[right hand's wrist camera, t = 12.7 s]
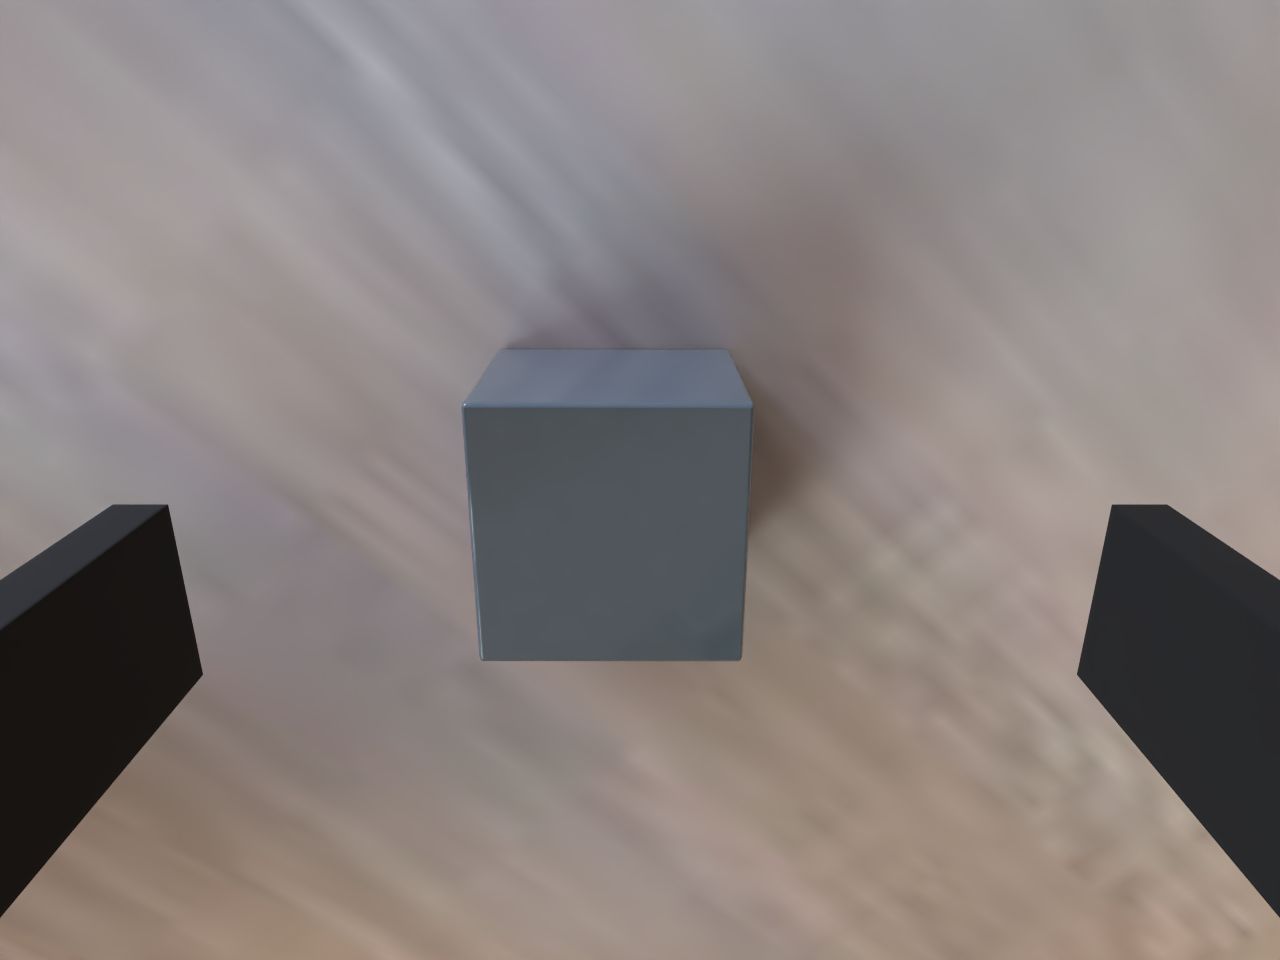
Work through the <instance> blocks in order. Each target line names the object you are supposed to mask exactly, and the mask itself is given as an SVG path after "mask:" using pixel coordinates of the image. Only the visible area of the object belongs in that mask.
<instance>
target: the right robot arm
mask: <svg viewBox="0 0 1280 960" xmlns="http://www.w3.org/2000/svg"><path fill="white" fill-rule="evenodd" d="M202 675H203V673H202V668H201V663H200V658H199V653H198V648H197V643H196V638H195V634H194V629H193V624H192V619H191V614H190V609H189V604H188V600H187V595H186V590H185V585H184V580H183V575H182V570H181V566H180V561H179V556H178V551H177V546H176V541H175V536H174V532H173V527H172V522H171V517H170V512H169V507H168V505H112V506H110V507H109V508H107V509H106V510H104V511H103V512H101V513H100V514H98V515H97V516H95V517H94V518H92V519H91V520H89V521H88V522H86V523H85V524H83V525H82V526H80V527H79V528H77V529H76V530H74V531H73V532H71V533H70V534H68V535H67V536H65V537H64V538H62V539H61V540H59V541H58V542H57V543H55V544H54V545H52V546H51V547H49V548H48V549H46V550H45V551H43V552H42V553H40V554H39V555H37V556H36V557H34V558H33V559H31V560H30V561H28V562H27V563H25V564H24V565H22V566H21V567H19V568H18V569H16V570H15V571H13V572H12V573H10V574H9V575H7V576H6V577H4V578H3V579H1V580H0V917H1V916H2V915H3V914H4V913H5V911H6V910H7V909H8V908H9V907H10V905H11V904H12V903H13V902H14V901H15V899H16V898H17V897H18V896H19V895H20V893H21V892H22V891H23V890H24V889H25V887H26V886H27V885H28V884H29V883H30V881H31V880H32V879H33V878H34V877H35V875H36V874H37V873H38V872H39V871H40V869H41V868H42V867H43V866H44V865H45V863H46V862H47V861H48V860H49V859H50V857H51V856H52V855H53V854H54V853H55V851H56V850H57V849H58V848H59V847H60V845H61V844H62V843H63V842H64V841H65V839H66V838H67V837H68V836H69V835H70V833H71V832H72V831H73V830H74V829H75V827H76V826H77V825H78V824H79V823H80V821H81V820H82V819H83V818H84V817H85V815H86V814H87V813H88V812H89V811H90V809H91V808H92V807H93V806H94V805H95V803H96V802H97V801H98V800H99V799H100V797H101V796H102V795H103V794H104V793H105V791H106V790H107V789H108V788H109V787H110V785H111V784H112V783H113V782H114V781H115V779H116V778H117V777H118V776H119V775H120V773H121V772H122V771H123V770H124V769H125V767H126V766H127V765H128V764H129V763H130V761H131V760H132V759H133V758H134V757H135V755H136V754H137V753H138V752H139V751H140V749H141V748H142V747H143V746H144V745H145V743H146V742H147V741H148V740H149V739H150V738H151V736H152V735H153V734H154V733H155V732H156V730H157V729H158V728H159V727H160V726H161V724H162V723H163V722H164V721H165V720H166V718H167V717H168V716H169V715H170V714H171V712H172V711H173V710H174V709H175V708H176V706H177V705H178V704H179V703H180V702H181V700H182V699H183V698H184V697H185V696H186V694H187V693H188V692H189V691H190V690H191V688H192V687H193V686H194V685H195V684H196V682H197V681H198V680H199V679H200V678H201V676H202ZM1077 675H1078V676H1079V678H1080V679H1081V680H1082V681H1083V682H1084V684H1085V685H1086V686H1087V687H1088V688H1089V690H1090V691H1091V692H1092V693H1093V694H1094V696H1095V697H1096V698H1097V699H1098V700H1099V702H1100V703H1101V704H1102V705H1103V706H1104V708H1105V709H1106V710H1107V711H1108V712H1109V714H1110V715H1111V716H1112V717H1113V718H1114V720H1115V721H1116V722H1117V723H1118V724H1119V726H1120V727H1121V728H1122V729H1123V730H1124V732H1125V733H1126V734H1127V735H1128V736H1129V738H1130V739H1131V740H1132V741H1133V742H1134V744H1135V745H1136V746H1137V747H1138V748H1139V749H1140V751H1141V752H1142V753H1143V754H1144V755H1145V757H1146V758H1147V759H1148V760H1149V761H1150V763H1151V764H1152V765H1153V766H1154V767H1155V769H1156V770H1157V771H1158V772H1159V773H1160V775H1161V776H1162V777H1163V778H1164V779H1165V781H1166V782H1167V783H1168V784H1169V785H1170V787H1171V788H1172V789H1173V790H1174V791H1175V793H1176V794H1177V795H1178V796H1179V797H1180V799H1181V800H1182V801H1183V802H1184V803H1185V805H1186V806H1187V807H1188V808H1189V809H1190V811H1191V812H1192V813H1193V814H1194V815H1195V817H1196V818H1197V819H1198V820H1199V821H1200V823H1201V824H1202V825H1203V826H1204V827H1205V829H1206V830H1207V831H1208V832H1209V833H1210V835H1211V836H1212V837H1213V838H1214V839H1215V841H1216V842H1217V843H1218V844H1219V845H1220V847H1221V848H1222V849H1223V850H1224V851H1225V853H1226V854H1227V855H1228V856H1229V857H1230V859H1231V860H1232V861H1233V862H1234V863H1235V865H1236V866H1237V867H1238V868H1239V869H1240V871H1241V872H1242V873H1243V874H1244V875H1245V877H1246V878H1247V879H1248V880H1249V881H1250V883H1251V884H1252V885H1253V886H1254V887H1255V889H1256V890H1257V891H1258V892H1259V893H1260V895H1261V896H1262V897H1263V898H1264V899H1265V901H1266V902H1267V903H1268V904H1269V905H1270V907H1271V908H1272V909H1273V910H1274V911H1275V913H1276V914H1277V915H1278V916H1279V917H1280V580H1279V579H1277V578H1276V577H1274V576H1273V575H1271V574H1270V573H1268V572H1267V571H1265V570H1264V569H1262V568H1261V567H1259V566H1258V565H1256V564H1255V563H1253V562H1252V561H1250V560H1249V559H1247V558H1246V557H1244V556H1243V555H1241V554H1240V553H1238V552H1237V551H1235V550H1234V549H1232V548H1231V547H1229V546H1228V545H1226V544H1225V543H1223V542H1222V541H1221V540H1219V539H1218V538H1216V537H1215V536H1213V535H1212V534H1210V533H1209V532H1207V531H1206V530H1204V529H1203V528H1201V527H1200V526H1198V525H1197V524H1195V523H1194V522H1192V521H1191V520H1189V519H1188V518H1186V517H1185V516H1183V515H1182V514H1180V513H1179V512H1177V511H1176V510H1174V509H1173V508H1171V507H1170V506H1168V505H1112V507H1111V512H1110V517H1109V522H1108V527H1107V532H1106V536H1105V541H1104V546H1103V551H1102V556H1101V561H1100V566H1099V570H1098V575H1097V580H1096V585H1095V590H1094V595H1093V600H1092V604H1091V609H1090V614H1089V619H1088V624H1087V629H1086V634H1085V638H1084V643H1083V648H1082V653H1081V658H1080V663H1079V668H1078V673H1077Z"/></svg>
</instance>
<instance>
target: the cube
mask: <svg viewBox="0 0 1280 960" xmlns="http://www.w3.org/2000/svg"><path fill="white" fill-rule="evenodd" d="M754 416H755V407H754V404H753V402H752V400H751V398H750V395H749V393H748V391H747V389H746V386H745V384H744V382H743V380H742V378H741V375H740V373H739V371H738V369H737V367H736V364H735V362H734V360H733V358H732V355H731V353H730V351H729V350H695V349H501V350H499V352H498V353H497V355H496V356H495V357H494V359H493V360H492V362H491V363H490V365H489V366H488V368H487V369H486V371H485V372H484V374H483V375H482V376H481V378H480V379H479V381H478V382H477V384H476V385H475V387H474V388H473V390H472V391H471V392H470V394H469V395H468V397H467V398H466V400H465V401H464V403H463V404H462V421H463V435H464V449H465V463H466V476H467V490H468V504H469V518H470V532H471V546H472V560H473V573H474V587H475V601H476V615H477V629H478V643H479V656H480V659H481V660H483V661H740V660H741V658H742V650H743V630H744V611H745V591H746V572H747V553H748V533H749V514H750V494H751V475H752V455H753V436H754Z"/></svg>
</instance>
